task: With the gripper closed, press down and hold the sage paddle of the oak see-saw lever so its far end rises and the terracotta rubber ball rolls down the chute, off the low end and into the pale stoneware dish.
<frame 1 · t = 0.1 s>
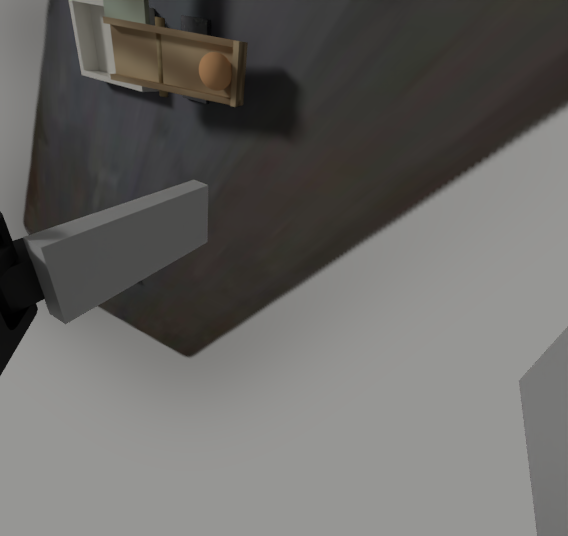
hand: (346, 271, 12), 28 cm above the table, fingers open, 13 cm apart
lever: (170, 15, 34), point 6 cm above the table, hinge at -13.5°, touching ball
fulcrum: (197, 61, 41), on the table
ball: (215, 71, 34), point 6 cm above the table, tilted 12°, touching lever
dish: (124, 45, 46), on the table
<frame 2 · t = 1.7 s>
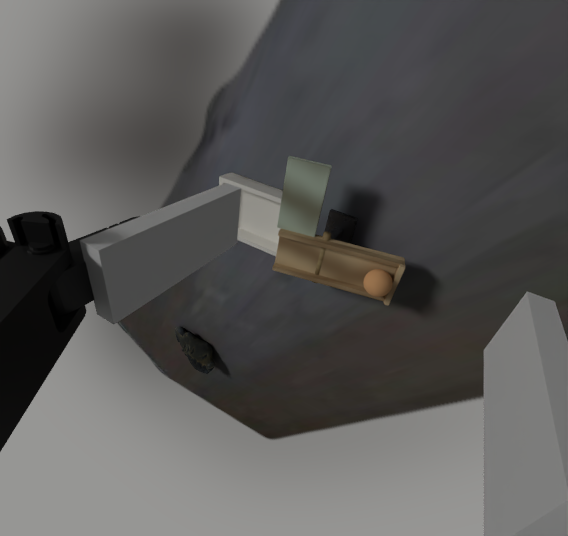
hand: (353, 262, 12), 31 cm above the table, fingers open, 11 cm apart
stone: (200, 342, 78), on the table
lever: (341, 237, 40), point 6 cm above the table, hinge at -13.5°, touching ball
fulcrum: (336, 241, 48), on the table
ball: (377, 282, 40), point 6 cm above the table, tilted 12°, touching lever
dish: (261, 212, 52), on the table
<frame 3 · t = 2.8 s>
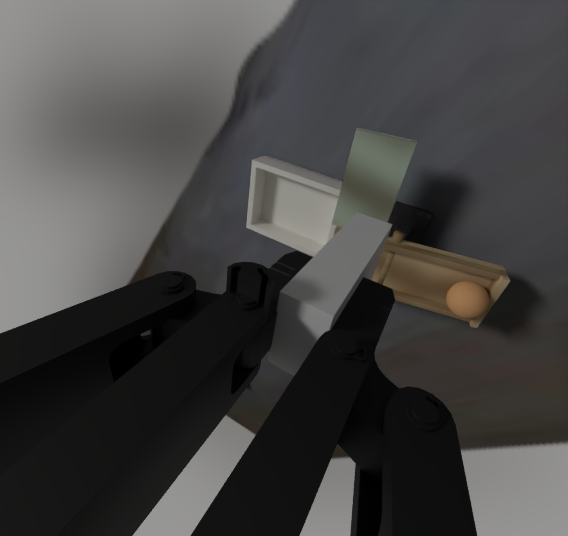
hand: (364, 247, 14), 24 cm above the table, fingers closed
lever: (419, 238, 30), point 6 cm above the table, hinge at -13.5°, touching ball
fulcrum: (400, 242, 38), on the table
ball: (467, 299, 30), point 6 cm above the table, tilted 12°, touching lever
dish: (301, 204, 42), on the table
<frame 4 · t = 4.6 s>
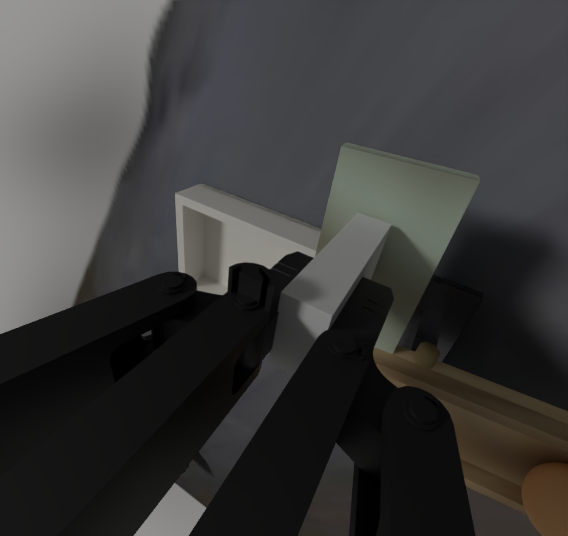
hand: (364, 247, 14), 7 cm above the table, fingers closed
lever: (471, 372, 14), point 7 cm above the table, hinge at -6.4°, touching ball, gripper
fulcrum: (420, 331, 22), on the table
dish: (260, 260, 27), on the table
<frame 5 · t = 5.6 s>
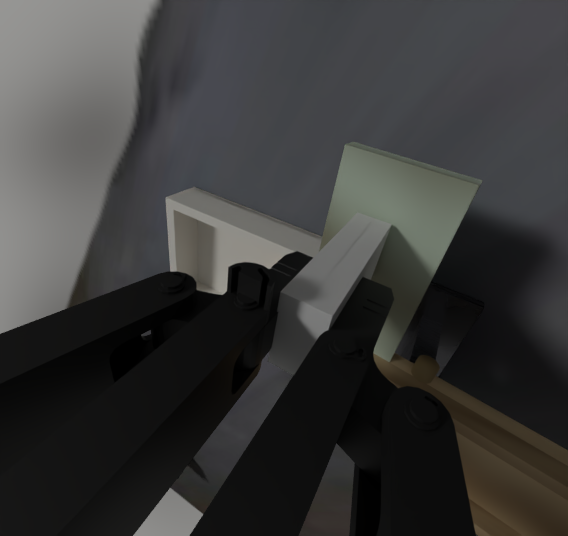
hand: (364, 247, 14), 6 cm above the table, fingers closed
lever: (468, 392, 14), point 7 cm above the table, hinge at 6.0°, touching gripper
fulcrum: (418, 340, 22), on the table
dish: (254, 265, 26), on the table
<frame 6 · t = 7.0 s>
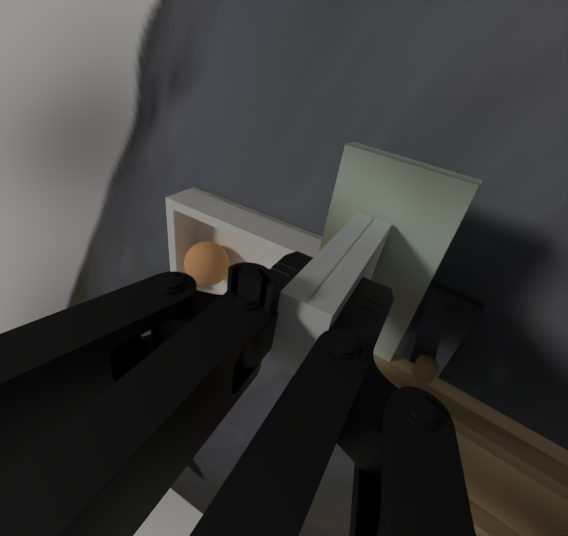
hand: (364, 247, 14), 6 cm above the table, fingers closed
lever: (468, 393, 14), point 7 cm above the table, hinge at 6.1°, touching gripper
fulcrum: (418, 340, 22), on the table
ball: (207, 263, 25), point 2 cm above the table, tilted 78°, touching dish
dish: (254, 265, 26), on the table
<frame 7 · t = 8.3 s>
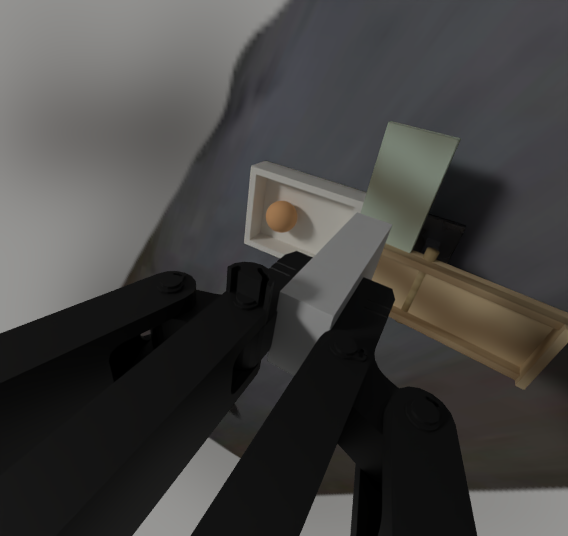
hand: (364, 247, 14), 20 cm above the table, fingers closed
lever: (455, 259, 24), point 7 cm above the table, hinge at 6.1°
fulcrum: (424, 258, 33), on the table
ball: (281, 216, 36), point 2 cm above the table, tilted 52°, touching dish
dish: (307, 216, 37), on the table
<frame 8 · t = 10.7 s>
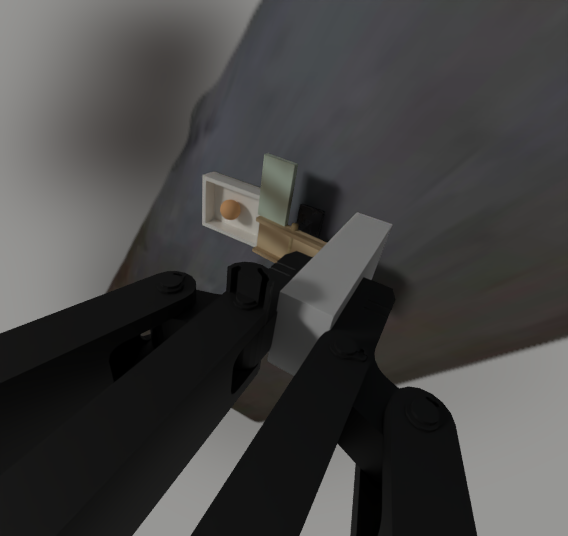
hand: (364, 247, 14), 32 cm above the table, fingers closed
lever: (303, 228, 45), point 7 cm above the table, hinge at 6.1°
fulcrum: (307, 232, 53), on the table
ball: (230, 209, 56), point 2 cm above the table, touching dish
dish: (241, 207, 57), on the table
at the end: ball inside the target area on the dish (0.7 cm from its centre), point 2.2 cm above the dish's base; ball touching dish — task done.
